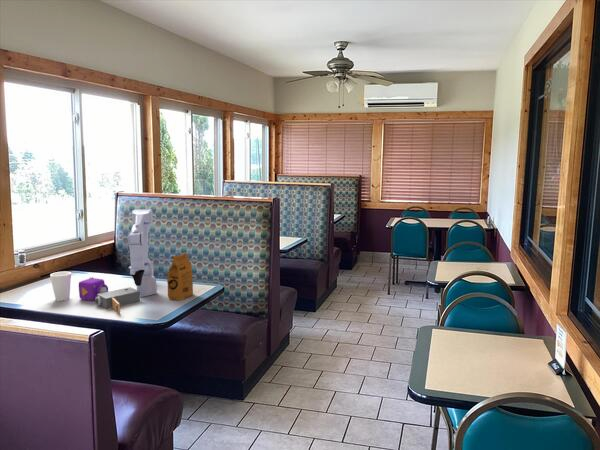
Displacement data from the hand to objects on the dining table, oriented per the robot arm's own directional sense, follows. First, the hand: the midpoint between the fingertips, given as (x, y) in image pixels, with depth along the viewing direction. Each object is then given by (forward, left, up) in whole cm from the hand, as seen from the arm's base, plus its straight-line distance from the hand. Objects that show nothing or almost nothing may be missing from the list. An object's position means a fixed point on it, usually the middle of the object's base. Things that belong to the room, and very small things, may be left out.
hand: (138, 285), depth 246 cm
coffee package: (-20, +4, -10) cm, 23 cm away
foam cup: (+24, -35, -10) cm, 43 cm away
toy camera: (+12, -24, -10) cm, 28 cm away
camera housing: (+6, -9, -9) cm, 14 cm away
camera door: (+13, +2, -9) cm, 16 cm away
